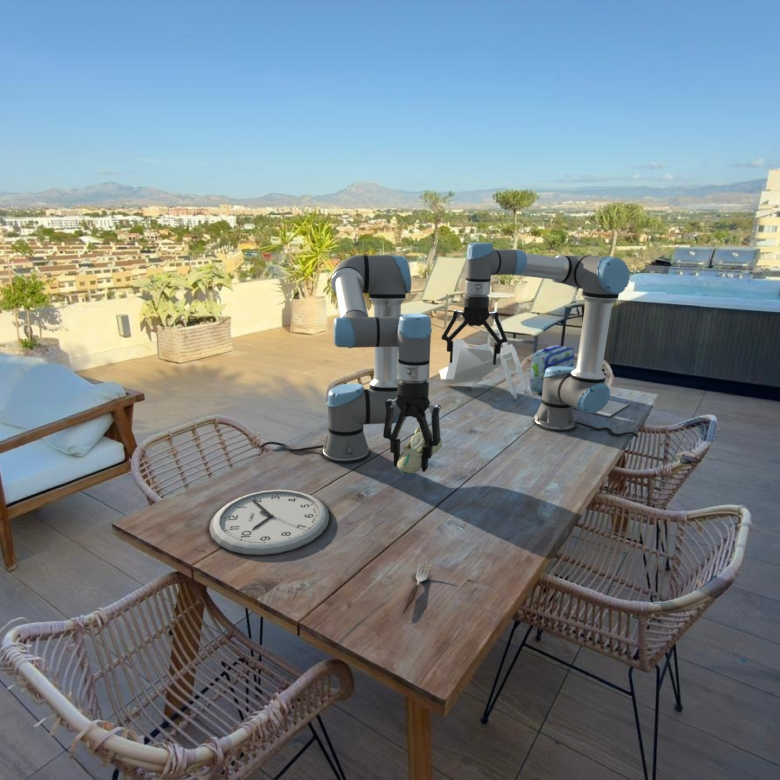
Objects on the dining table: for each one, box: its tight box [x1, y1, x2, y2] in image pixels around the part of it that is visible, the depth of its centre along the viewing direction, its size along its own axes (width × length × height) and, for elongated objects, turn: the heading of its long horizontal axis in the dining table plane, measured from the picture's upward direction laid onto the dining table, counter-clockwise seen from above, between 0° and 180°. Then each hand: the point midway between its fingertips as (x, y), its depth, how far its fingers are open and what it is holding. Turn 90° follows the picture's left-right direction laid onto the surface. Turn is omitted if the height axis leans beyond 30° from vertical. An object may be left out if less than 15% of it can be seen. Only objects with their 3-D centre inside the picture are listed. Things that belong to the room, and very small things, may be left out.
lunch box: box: [529, 345, 575, 394], centre depth 245 cm, size 26×11×21 cm, turn 134°
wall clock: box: [209, 489, 330, 556], centre depth 135 cm, size 30×2×30 cm
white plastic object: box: [438, 310, 531, 400], centre depth 245 cm, size 37×45×31 cm
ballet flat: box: [397, 426, 443, 476], centre depth 138 cm, size 8×25×8 cm, turn 162°
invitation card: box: [595, 399, 629, 418], centre depth 226 cm, size 21×1×15 cm
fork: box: [402, 559, 432, 614], centre depth 109 cm, size 3×16×2 cm, turn 160°
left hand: (410, 466), depth 132 cm, fingers closed on ballet flat, 7 cm apart
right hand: (472, 362), depth 166 cm, fingers open, 13 cm apart
